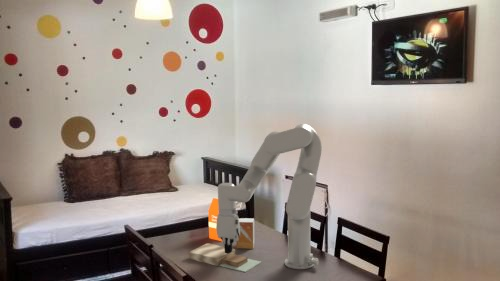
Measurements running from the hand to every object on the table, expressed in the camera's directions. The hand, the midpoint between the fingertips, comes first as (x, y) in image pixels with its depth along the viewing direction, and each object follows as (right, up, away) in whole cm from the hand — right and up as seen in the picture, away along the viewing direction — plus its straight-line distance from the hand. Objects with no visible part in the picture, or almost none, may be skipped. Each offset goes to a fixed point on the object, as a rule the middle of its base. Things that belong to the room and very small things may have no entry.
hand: (228, 252), depth 206 cm
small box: (+7, -2, +18) cm, 20 cm away
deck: (-7, -4, +6) cm, 10 cm away
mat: (+5, -4, -3) cm, 8 cm away
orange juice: (-5, 0, +32) cm, 32 cm away
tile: (+3, -4, -2) cm, 5 cm away
